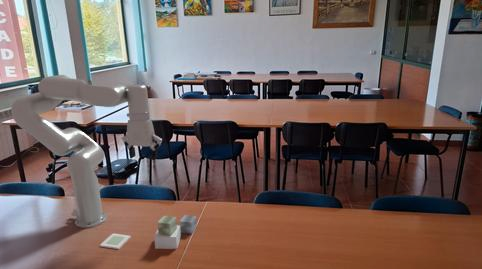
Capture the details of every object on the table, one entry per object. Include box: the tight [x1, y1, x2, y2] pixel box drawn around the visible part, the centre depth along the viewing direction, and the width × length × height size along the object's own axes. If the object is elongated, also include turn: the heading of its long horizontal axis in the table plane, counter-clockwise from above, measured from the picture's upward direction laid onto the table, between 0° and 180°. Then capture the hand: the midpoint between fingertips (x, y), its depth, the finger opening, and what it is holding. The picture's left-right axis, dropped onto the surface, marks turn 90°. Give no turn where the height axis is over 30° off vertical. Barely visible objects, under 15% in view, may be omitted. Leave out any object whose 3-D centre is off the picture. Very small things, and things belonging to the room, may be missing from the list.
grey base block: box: [153, 224, 182, 250], centre depth 124 cm, size 8×8×5 cm
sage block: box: [157, 215, 178, 236], centre depth 122 cm, size 5×5×5 cm
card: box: [99, 233, 132, 250], centre depth 125 cm, size 8×8×1 cm
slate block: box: [179, 214, 198, 235], centre depth 132 cm, size 5×5×5 cm
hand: (143, 158), depth 132 cm, fingers open, 9 cm apart
